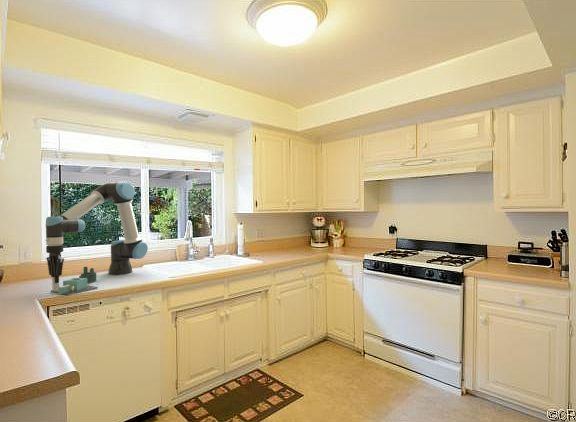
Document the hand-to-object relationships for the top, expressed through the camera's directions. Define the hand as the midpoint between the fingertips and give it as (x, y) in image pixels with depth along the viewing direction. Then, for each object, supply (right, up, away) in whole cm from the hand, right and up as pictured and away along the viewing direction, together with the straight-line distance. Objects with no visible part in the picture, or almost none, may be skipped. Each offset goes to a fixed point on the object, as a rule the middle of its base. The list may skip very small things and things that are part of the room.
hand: (55, 288), depth 174 cm
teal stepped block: (+8, -1, +1) cm, 8 cm away
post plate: (+7, -2, +5) cm, 9 cm away
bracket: (+1, -2, +26) cm, 26 cm away
